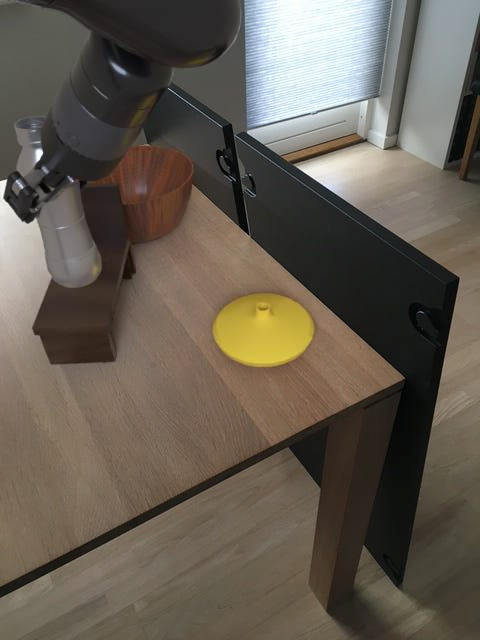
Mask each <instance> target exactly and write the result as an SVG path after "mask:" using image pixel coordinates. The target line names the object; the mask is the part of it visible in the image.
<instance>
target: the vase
mask: <svg viewBox="0 0 480 640" xmlns="http://www.w3.org/2000/svg"><path fill="white" fill-rule="evenodd" d="M314 333H315V324H314V320H313V318H312V316H311V315H310V313H309V312H308V310H307V309H305V308H304V307H303V306H302V305H301V304H300V303H298V302H297V301H295V300H293V299H291V298H290V297H287V296H283V295H282V294H275V293H268V292H267V293H266V292H265V293H253V294H248V295H243V296H241V297H238V298H235V299H234V300H232V301H231V302H229V303H228V304H226V305H225V306H224V307H223V308H222V309H221V310H220V311H219V312H218V313H217V315H216V316H215V319H214V320H213V323H212V334H213V338H214V341H215V344H216V345H217V346H218V347H219V349H220V350H221V352H222V353H223V354H224V355H226V356H227V358H230V359H231V360H232V361H234V362H236V363H240V364H242V365H245V366H248V367H249V366H250V367H255V368H272V367H277V366H281V365H284V364H287V363H290V362H291V361H294V360H296V359H297V358H298V357H300V356H301V355H302V354H304V352H305V351H306V350H307V348H308V347H309V346H310V344H311V341H313V338H314Z"/></svg>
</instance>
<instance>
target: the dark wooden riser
mask: <svg viewBox="0 0 480 640" xmlns="http://www.w3.org/2000/svg"><path fill="white" fill-rule="evenodd" d="M81 200H82V205H83V211H84V215H85V219H86V222H87V225H88V228H89V230H90V233H91V236H92V239H93V241H94V242H95V244H96V246H97V248H98V251H99V253H100V256H101V264H102V268H101V272H100V274H99V276H98V277H97V279H96V280H95V281H94V282H92V283H91V284H88V285H86V286H83V287H79V288H68V287H64V286H62V285H60V284H58V283H57V282H55V281H54V280H53V278H52V277H51V278H50V280H49V283H48V286H47V289H46V291H45V293H44V296H43V298H42V301H41V304H40V305H39V308H38V311H37V314H36V316H35V319H34V321H33V324H32V327H31V329H32V332H33V334H34V336H39V339H40V341H41V344H42V347H43V349H44V351H45V355H46V357H47V359H48V362H49V364H50V365H71V364H93V363H94V364H96V363H98V364H99V363H115V362H116V358H117V352H116V349H115V345H114V341H113V338H112V334H111V327H112V322H113V318H114V314H115V310H116V305H117V301H118V297H119V292H120V287H121V284H122V280H132V279H133V276H134V275H136V274H137V266H136V261H135V256H134V252H133V246H132V243H131V241H130V237H129V232H128V227H127V222H126V217H125V212H124V208H123V203H122V198H121V193H120V188H119V183H97V184H87V185H86V187H85V188H84V190H83V191H82V193H81Z"/></svg>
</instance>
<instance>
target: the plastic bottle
mask: <svg viewBox="0 0 480 640" xmlns="http://www.w3.org/2000/svg"><path fill="white" fill-rule="evenodd" d="M46 117H47V116H44V115H32V116H31V115H30V116H27V117H26V116H25V117H23V118H20V119H18V120H16V121H15V122H14V124H13V127H14V130H15V131H14V132H15V134H16V140H17V142H18V144H19V146H21V147H22V149H21V152H20V154H19V157H18V159H17V163H16V166H15V167H16V171H19V173H20V174H22V176H23V177H24V176H26V175H27V174H28V173H29V172H30V171H31V169H32V168H33V167H34V166H35V164H36V163H37V162H38V161H39V160H40V156H41V155H42V154H43V151H42V145H41V129H42V126H43V124H44V121H45V119H46ZM46 185H47V184H46ZM47 186H48V187H49V188H50V190H51V191H53V190H54V189H55V188H52V187H50V186H49V185H47ZM34 191H35V190H34ZM35 192H36V191H35ZM36 193H37V192H36ZM35 198H36V200H37V199H38V198H39V195H38V193H37V196H36V197H35ZM35 219H36V222H37V223H36V224H37V225H38V229H39V231H40V235H41V239H42V243H43V248H44V258H45V265H46V269H47V271H48V273H49V274H50V276H51V278H53V280H54V281H55V282H57V283H58V284H60V285H62V286H64V287H68V288H79V287H83V286H86V285H88V284H91V283H92V282H94V281H95V280H96V279H97V277H98V276H99V274H100V272H101V268H102V264H101V256H100V253H99V251H98V248H97V246H96V244H95V242H94V241H93V239H92V236H91V233H90V230H89V228H88V225H87V222H86V219H85V215H84V211H83V205H82V200H81V192H80V182H79V181H78V182H77V183H76V184H75V185H74V186H72V187H69V188H67V189H66V190H65V191H64V192H63V193H62V194H61V195H60V196H59V197H58V198H57V199H56V200H54V201H51V202H48V203H45V204H44V205H43V206H42V207H41V208H40V210H39V212H38V214H37V215H36V217H35Z"/></svg>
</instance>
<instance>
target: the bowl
mask: <svg viewBox="0 0 480 640" xmlns="http://www.w3.org/2000/svg"><path fill="white" fill-rule="evenodd" d="M193 181H194V163H193V162H192V160H191V157H189V156H187V155H186V154H184V153H183V152H182V151H179V150H176V149H173V148H170V147H166V146H160V145H145V144H144V145H141V144H140V145H131V147H130V148H129V150H128V151H127V152H126V154H125V155H124V157H123V158H122V159H121V161H120V162H119V164H118V165H117V166H116V168H115V169H114V170H113V172H112V173H111V174H110V175H108V176H107V177H105V178H103V179H101V180H97V181H92V182H90V183H88V184H97V183H119V188H120V193H121V198H122V203H123V208H124V212H125V217H126V222H127V227H128V232H129V237H130V241H131V244H137V243H138V244H139V243H145V242H150V241H154V240H157V239H159V238H161V237H164V236H165V235H167V234H169V233H170V232H172V231H173V230H174V229H175V228H176V227H177V226H178V225H179V224H180V223H181V221H182V219H183V218H184V215H185V213H186V212H187V209H188V206H189V202H190V199H191V195H192V189H193Z"/></svg>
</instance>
